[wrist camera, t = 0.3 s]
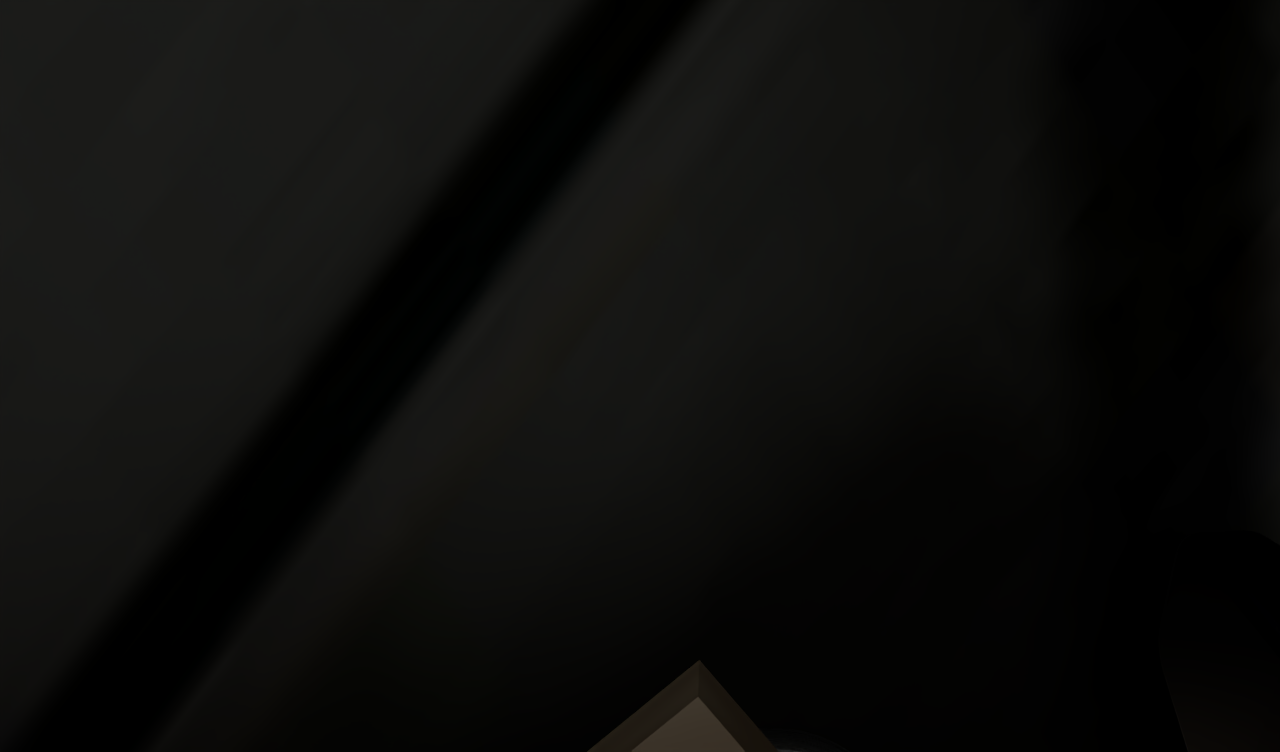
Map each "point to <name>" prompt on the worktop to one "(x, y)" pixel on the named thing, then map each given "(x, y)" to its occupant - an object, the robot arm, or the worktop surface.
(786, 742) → the steel token
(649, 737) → the oak plinth shelf
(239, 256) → the worktop surface
